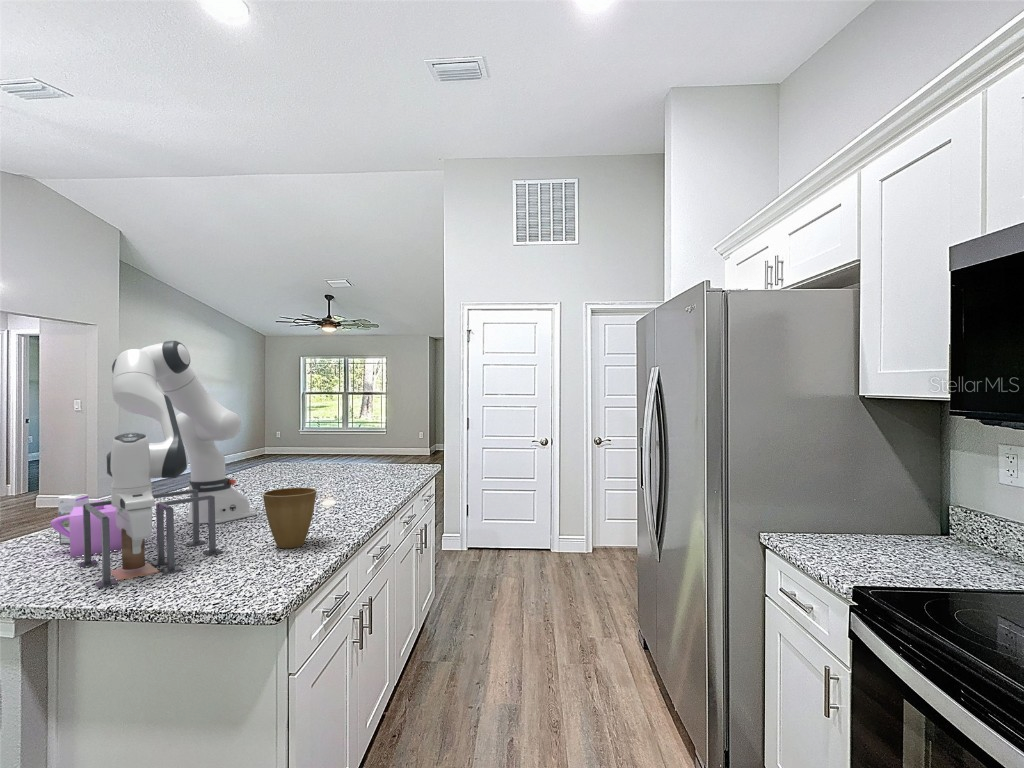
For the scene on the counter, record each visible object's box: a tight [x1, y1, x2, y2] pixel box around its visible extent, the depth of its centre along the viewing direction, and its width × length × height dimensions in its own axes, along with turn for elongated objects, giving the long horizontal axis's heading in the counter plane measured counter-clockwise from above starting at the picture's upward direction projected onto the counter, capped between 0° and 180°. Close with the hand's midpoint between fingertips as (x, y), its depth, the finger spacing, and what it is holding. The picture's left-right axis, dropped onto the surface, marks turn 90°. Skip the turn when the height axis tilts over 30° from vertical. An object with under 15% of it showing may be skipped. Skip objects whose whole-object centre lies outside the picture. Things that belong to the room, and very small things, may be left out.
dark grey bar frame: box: [76, 489, 223, 589], centre depth 162 cm, size 31×27×16 cm
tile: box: [110, 562, 160, 582], centre depth 154 cm, size 9×10×1 cm
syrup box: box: [57, 493, 90, 545], centre depth 185 cm, size 6×6×14 cm
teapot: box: [50, 499, 122, 558], centre depth 178 cm, size 15×25×14 cm, turn 123°
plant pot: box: [262, 487, 317, 549], centre depth 177 cm, size 15×15×16 cm
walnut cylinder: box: [121, 528, 146, 570], centre depth 154 cm, size 5×5×10 cm
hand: (133, 550), depth 154 cm, fingers closed on walnut cylinder, 5 cm apart
